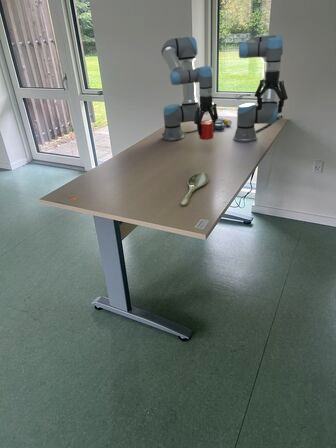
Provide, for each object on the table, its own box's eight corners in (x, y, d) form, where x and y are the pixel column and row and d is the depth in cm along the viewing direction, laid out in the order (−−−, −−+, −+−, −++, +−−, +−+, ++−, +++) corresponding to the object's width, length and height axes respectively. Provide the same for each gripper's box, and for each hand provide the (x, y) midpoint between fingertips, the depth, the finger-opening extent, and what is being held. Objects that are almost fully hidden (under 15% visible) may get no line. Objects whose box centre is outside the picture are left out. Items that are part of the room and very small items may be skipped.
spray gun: (234, 122, 269) (216, 122, 275) (234, 117, 267) (216, 117, 273) (226, 131, 254) (207, 130, 260) (226, 125, 251) (207, 124, 258)
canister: (205, 134, 215) (204, 119, 210) (216, 136, 210) (216, 121, 205) (196, 138, 210) (196, 123, 205) (207, 140, 205) (207, 125, 199)
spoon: (193, 209, 156) (193, 205, 155) (172, 207, 159) (171, 203, 158) (212, 175, 182) (212, 172, 181) (193, 174, 186) (193, 170, 184)
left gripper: (193, 99, 189) (194, 138, 202) (224, 93, 197) (224, 131, 209) (186, 97, 195) (188, 135, 207) (217, 91, 203) (217, 128, 215)
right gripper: (249, 70, 186) (247, 109, 197) (288, 72, 169) (284, 115, 180) (257, 68, 189) (255, 107, 200) (297, 70, 172) (292, 112, 183)
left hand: (206, 133), depth 208 cm, fingers closed on canister, 9 cm apart
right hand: (269, 111), depth 190 cm, fingers open, 13 cm apart
